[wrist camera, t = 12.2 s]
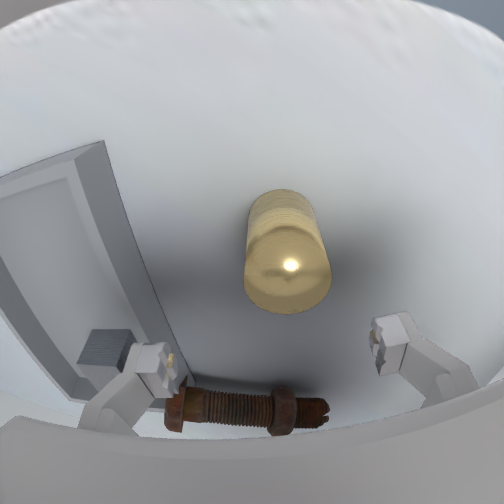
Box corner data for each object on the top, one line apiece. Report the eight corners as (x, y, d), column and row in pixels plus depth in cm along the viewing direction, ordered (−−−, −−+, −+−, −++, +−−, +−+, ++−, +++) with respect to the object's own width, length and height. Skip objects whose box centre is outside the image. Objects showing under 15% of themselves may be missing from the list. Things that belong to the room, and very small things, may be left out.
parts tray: (103, 140, 16) (73, 159, 13) (196, 383, 29) (191, 413, 26) (-28, 190, 18) (-55, 210, 15) (79, 376, 31) (69, 400, 28)
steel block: (130, 329, 24) (116, 366, 21) (147, 358, 26) (136, 395, 23) (92, 329, 25) (76, 363, 21) (110, 357, 27) (98, 391, 24)
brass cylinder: (312, 186, 18) (332, 240, 13) (315, 244, 20) (331, 309, 15) (243, 193, 18) (236, 250, 13) (253, 250, 21) (250, 317, 16)
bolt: (317, 386, 31) (173, 372, 30) (336, 383, 27) (169, 368, 25) (314, 438, 29) (167, 427, 27) (332, 443, 24) (161, 433, 22)
